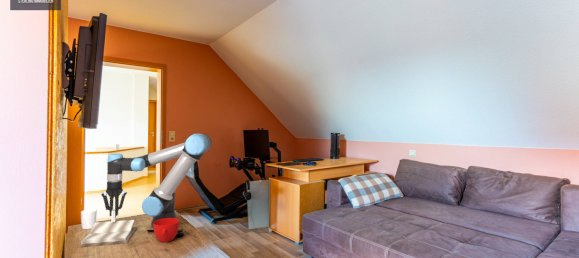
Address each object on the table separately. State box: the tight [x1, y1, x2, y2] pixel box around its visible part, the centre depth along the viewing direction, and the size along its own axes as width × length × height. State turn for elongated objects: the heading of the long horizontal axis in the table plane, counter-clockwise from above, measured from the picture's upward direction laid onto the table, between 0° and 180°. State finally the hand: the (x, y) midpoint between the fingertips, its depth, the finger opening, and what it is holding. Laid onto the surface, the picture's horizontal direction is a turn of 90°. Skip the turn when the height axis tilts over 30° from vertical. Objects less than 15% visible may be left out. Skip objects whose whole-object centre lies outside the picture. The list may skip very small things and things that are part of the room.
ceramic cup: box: [153, 218, 180, 243], centre depth 156 cm, size 13×17×10 cm
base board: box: [77, 226, 137, 248], centre depth 160 cm, size 22×22×3 cm
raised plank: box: [88, 219, 135, 235], centre depth 165 cm, size 20×10×2 cm, turn 106°
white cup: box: [80, 208, 98, 230], centre depth 175 cm, size 8×8×10 cm
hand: (113, 221), depth 168 cm, fingers closed
